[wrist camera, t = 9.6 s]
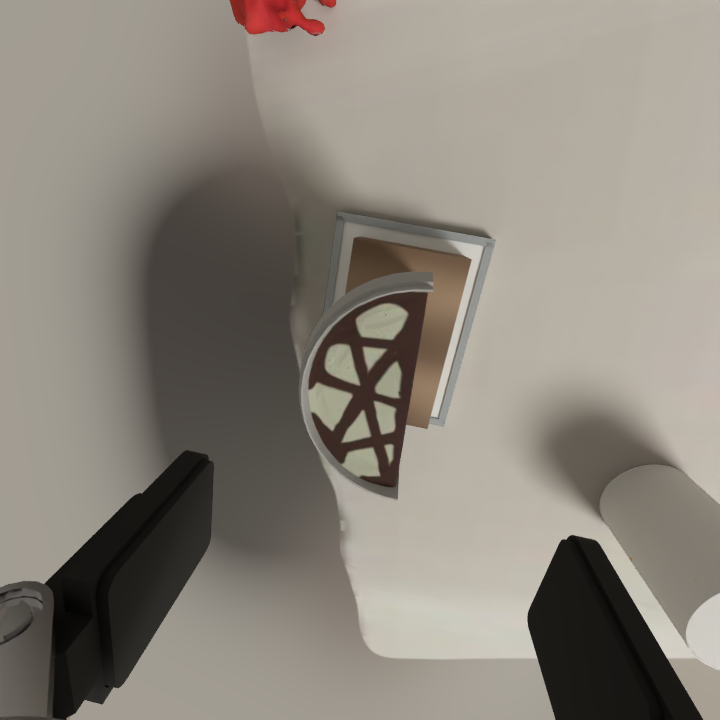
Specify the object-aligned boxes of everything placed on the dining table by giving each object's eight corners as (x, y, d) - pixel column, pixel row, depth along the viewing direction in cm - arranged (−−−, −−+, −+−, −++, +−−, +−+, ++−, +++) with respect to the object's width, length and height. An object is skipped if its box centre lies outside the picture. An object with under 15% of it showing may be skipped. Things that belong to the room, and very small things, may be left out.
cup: (588, 530, 37) (667, 662, 26) (614, 458, 35) (715, 571, 23) (677, 543, 37) (797, 684, 25) (711, 471, 34) (862, 593, 23)
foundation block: (360, 236, 30) (353, 237, 26) (463, 255, 29) (471, 259, 26) (335, 387, 34) (327, 408, 30) (425, 406, 34) (427, 428, 30)
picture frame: (340, 211, 30) (337, 211, 29) (492, 239, 30) (495, 239, 29) (314, 393, 36) (311, 399, 35) (442, 420, 35) (443, 426, 34)
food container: (335, 247, 26) (295, 260, 17) (425, 258, 26) (435, 277, 17) (322, 408, 31) (284, 490, 21) (399, 420, 30) (396, 508, 21)
